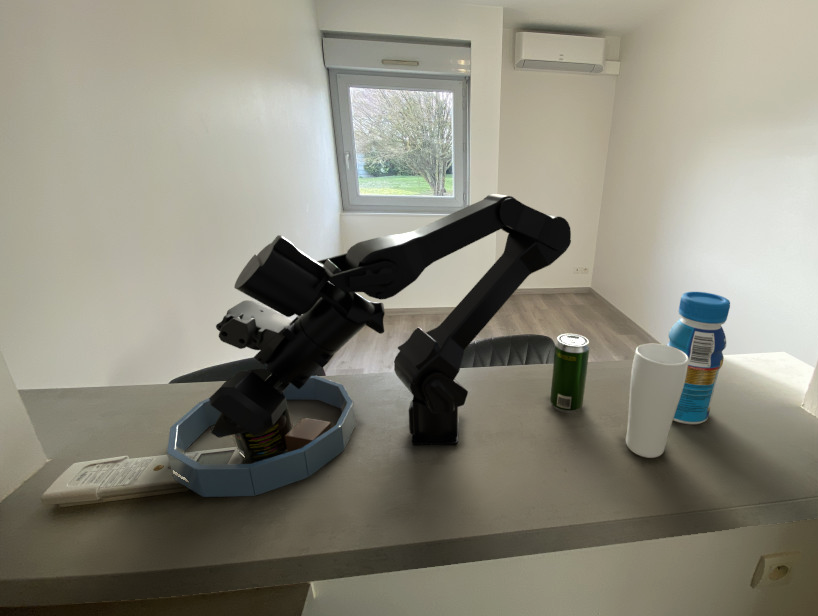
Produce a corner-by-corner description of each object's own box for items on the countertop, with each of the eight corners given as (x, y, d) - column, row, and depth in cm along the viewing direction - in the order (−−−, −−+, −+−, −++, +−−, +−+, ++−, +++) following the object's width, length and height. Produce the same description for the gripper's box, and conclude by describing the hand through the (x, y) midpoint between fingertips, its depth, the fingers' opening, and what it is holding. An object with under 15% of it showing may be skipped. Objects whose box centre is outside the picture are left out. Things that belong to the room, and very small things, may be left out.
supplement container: (305, 441, 56) (292, 384, 51) (256, 474, 51) (235, 415, 46) (278, 418, 59) (263, 361, 54) (229, 446, 54) (207, 388, 49)
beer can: (582, 416, 65) (590, 348, 61) (548, 412, 66) (554, 344, 62) (582, 399, 70) (590, 335, 66) (551, 395, 71) (556, 331, 67)
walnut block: (333, 446, 56) (331, 421, 55) (316, 466, 53) (312, 440, 51) (307, 442, 57) (304, 417, 56) (288, 461, 53) (284, 435, 52)
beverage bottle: (643, 407, 69) (664, 294, 62) (671, 392, 73) (693, 286, 67) (691, 433, 62) (720, 310, 55) (718, 415, 67) (748, 300, 60)
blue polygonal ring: (368, 396, 68) (366, 375, 67) (324, 494, 48) (320, 467, 47) (233, 397, 67) (229, 375, 65) (130, 498, 47) (120, 470, 45)
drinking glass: (634, 427, 63) (649, 338, 58) (677, 448, 59) (698, 354, 54) (611, 446, 59) (625, 351, 54) (655, 470, 54) (676, 370, 49)
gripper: (298, 263, 54) (225, 336, 57) (213, 311, 36) (114, 414, 39) (362, 320, 57) (290, 387, 60) (312, 390, 40) (214, 480, 43)
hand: (238, 410), depth 50 cm, fingers open, 9 cm apart
